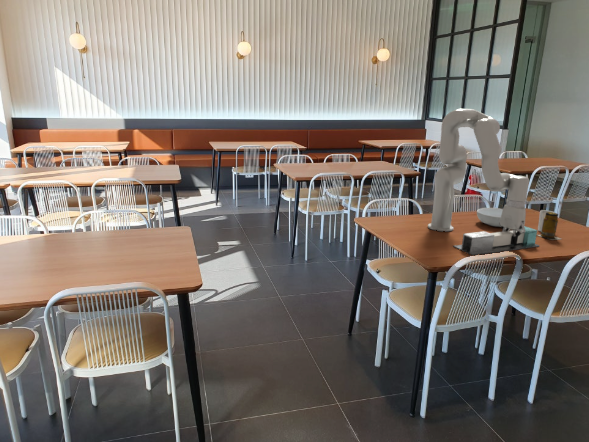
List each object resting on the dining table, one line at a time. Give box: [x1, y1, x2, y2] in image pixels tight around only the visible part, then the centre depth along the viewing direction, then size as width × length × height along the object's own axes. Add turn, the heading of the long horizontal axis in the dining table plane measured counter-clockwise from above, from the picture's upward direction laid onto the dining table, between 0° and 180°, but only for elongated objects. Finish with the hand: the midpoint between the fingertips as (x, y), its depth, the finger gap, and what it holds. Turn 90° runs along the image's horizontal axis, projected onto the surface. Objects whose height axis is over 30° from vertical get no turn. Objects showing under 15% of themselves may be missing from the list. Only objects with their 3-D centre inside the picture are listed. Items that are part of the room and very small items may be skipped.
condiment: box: [537, 211, 562, 241], centre depth 212 cm, size 7×8×12 cm
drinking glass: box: [537, 209, 556, 232], centre depth 223 cm, size 7×7×10 cm
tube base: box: [452, 225, 540, 256], centre depth 197 cm, size 39×12×7 cm, turn 111°
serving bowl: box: [476, 207, 503, 228], centre depth 232 cm, size 21×21×7 cm
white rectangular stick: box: [489, 230, 525, 247], centre depth 197 cm, size 24×4×5 cm, turn 111°
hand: (509, 241), depth 200 cm, fingers closed on white rectangular stick, 4 cm apart
